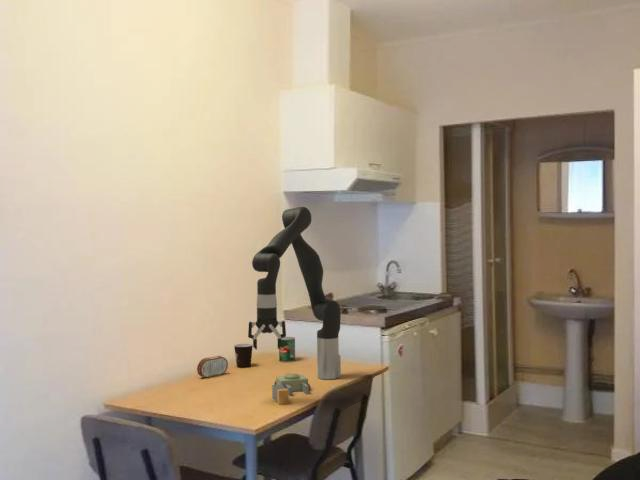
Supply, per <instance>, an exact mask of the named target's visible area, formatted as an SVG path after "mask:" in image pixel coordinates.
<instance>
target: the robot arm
mask: <svg viewBox="0 0 640 480" xmlns="http://www.w3.org/2000/svg"><path fill="white" fill-rule="evenodd" d="M281 221H282V224H283V229H282V230H280V231H279V232H278V233H277V234H275V236H273V238H271V240H270V241H269V243H268V244H267V245H266V246H265V247H263V248H262V249H260V250H258V251H257V252H256V254H254V256H253V258H252V260H251V266H252V268H253V269H254V270H253V271H256V272H258V273H267V274H266V277H264V278H263V277H262V278H259V279H258V280H257V284H256V285H257V287H256V289H257V291H256V292H257V293H256V294H257V295H256V321H251V320H250V321H249V322H248V333H247V334H248V335H247V337H248V338H249V339H252V342H253V343H252V345H253V347H252V348H253V349H254V350H258V337H259V336H260V334H272V333H273V334H274V335H275V336H276V338H277V349H278V350H279V349H280V347H281V339H282V338H283V337H287V331H286V321H285V320H282V321H281V320H280V321H278V316H277V315H278V308H277V305H278V303H277V289H276V288H277V287H276V286H277V280H278V275H279V272H280V267H281V260H280V259H281V258H282V257H283V256H284V254H285V253H286V251H287V250H288V248H289V247H290V246H291V245H292V248H293V250H294V254H295V257H296V260H297V263H298V267H299V268H300V269H299V270H300V273H301V275H302V277H303V281H304V284H305V287H306V289H307V293H308V296H309V301H310V306H311V311H312V314H313V316H314V318H315V319H316V320H318V321H320V322H321V321H322V327H321V328H320V329H318V330H317V332H316V353H317V354H316V356H317V357H316V359H317V360H316V361H317V362H316V363H317V378H318V379H320V380H335V379H338V378H339V379H340V378H341V377H342V372H341V371H342V369H341V366H342V365H341V354H339V353H340V351H339V350H340V349H339V348H340V347H339V346H340V345H339V340H340V339H339V335H340V331H341V319H342V317H341V315H342V314H341V307H340V304H339V303H338V302H337V301H335V300H331V299H327V298H326V296H325V293H324V290H323V279H324V278H323V277H324V266H323V264H322V261H321V258H320V255H319V253H317V251H316V250H315V249H314V248H313V247H312V246H311V245H310V244H309V243H308V242H307V241H306V240H305V239H304V238H303V236H302V233H303V232H304V231H305V230H307V229H308V228H309V227H310V225H311V223H312V214H311V211H310V210H309V209H308V208H307V207H306V206H298V207H292V208H287V209H285V210H283V212H282V215H281ZM255 326H256V327H257V330H256V332H255V333H254V334H252V333H253V332H252V329H253V328H254V327H255ZM278 326H279V327H280V328H281V332H282V333H281V334H280V332H279V331H278V329H277V327H278Z"/></svg>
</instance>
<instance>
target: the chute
mask: <svg viewBox="0 0 640 480" xmlns="http://www.w3.org/2000/svg"><path fill="white" fill-rule="evenodd" d="M271 390H272V393H271V395H272V396H271V397H272V400H274V402H276V403H277V405H281V406H282V405H289V403H290V402H289V397H290V396H289V395H288V389H286V388H285V387H284V386H283V385H282V384H279V385H275V384H272V386H271Z"/></svg>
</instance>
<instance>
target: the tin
mask: <svg viewBox="0 0 640 480" xmlns="http://www.w3.org/2000/svg"><path fill="white" fill-rule="evenodd" d="M228 367H229V363H228V359H226V358H225V357H224V356H222V355H217V356H211V357H204V358H202V359H201V360H199V362H198V364H197V367H196V371H197V375H198V376H199V377H202V378H206V379H208V378H213V377H218V376H222V375H224V374H225V373H226V372H227V370H228Z"/></svg>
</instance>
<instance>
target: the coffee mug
mask: <svg viewBox="0 0 640 480" xmlns="http://www.w3.org/2000/svg"><path fill="white" fill-rule="evenodd" d="M233 348H234V354H235V356H234V357H235V362H236V368H237V369H247V368H248V369H249V368H251V366H252V356H253V348H254V347H253V343H238V344H234V345H233Z"/></svg>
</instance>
